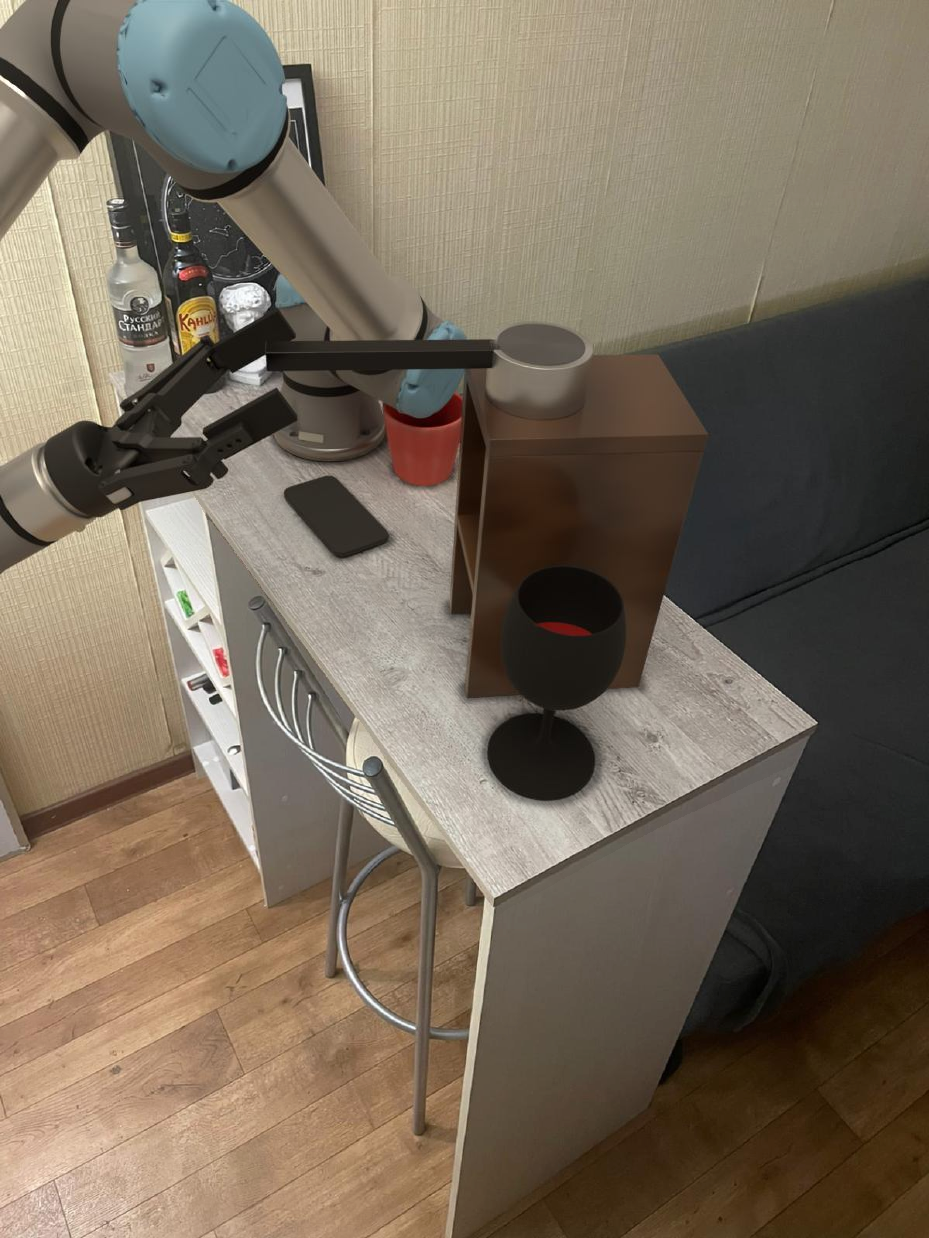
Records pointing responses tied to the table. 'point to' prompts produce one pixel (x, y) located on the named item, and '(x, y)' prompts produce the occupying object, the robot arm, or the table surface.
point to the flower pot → (424, 442)
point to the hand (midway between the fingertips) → (287, 360)
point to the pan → (469, 363)
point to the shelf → (572, 503)
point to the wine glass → (556, 677)
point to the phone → (336, 516)
